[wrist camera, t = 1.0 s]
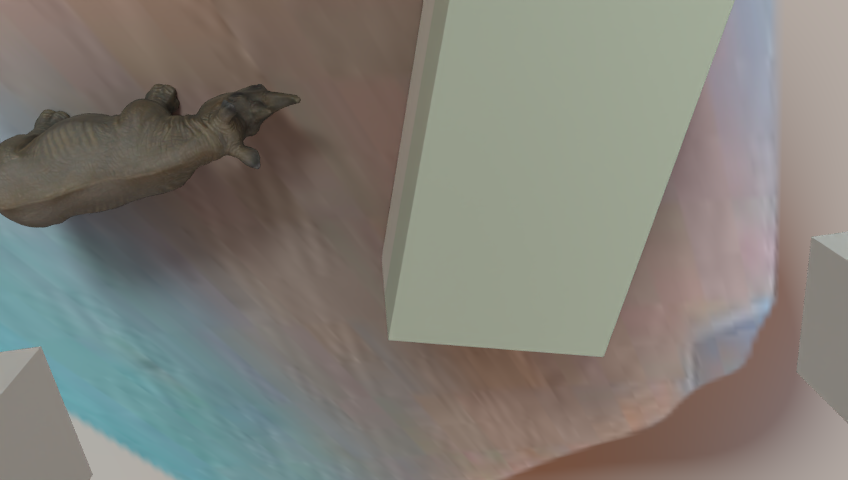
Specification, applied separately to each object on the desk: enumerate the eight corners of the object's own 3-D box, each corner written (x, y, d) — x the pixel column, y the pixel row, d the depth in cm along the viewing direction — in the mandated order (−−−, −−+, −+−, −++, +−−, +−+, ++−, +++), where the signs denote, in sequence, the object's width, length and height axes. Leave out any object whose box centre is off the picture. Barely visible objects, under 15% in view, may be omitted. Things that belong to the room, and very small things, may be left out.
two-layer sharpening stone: (443, -125, 28) (470, -120, 22) (673, -80, 29) (758, -64, 23) (381, 258, 36) (388, 340, 30) (562, 276, 38) (603, 357, 32)
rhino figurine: (320, 126, 32) (314, 177, 27) (42, 199, 33) (-16, 263, 28) (291, 40, 30) (279, 78, 25) (-4, 119, 31) (-76, 172, 26)
